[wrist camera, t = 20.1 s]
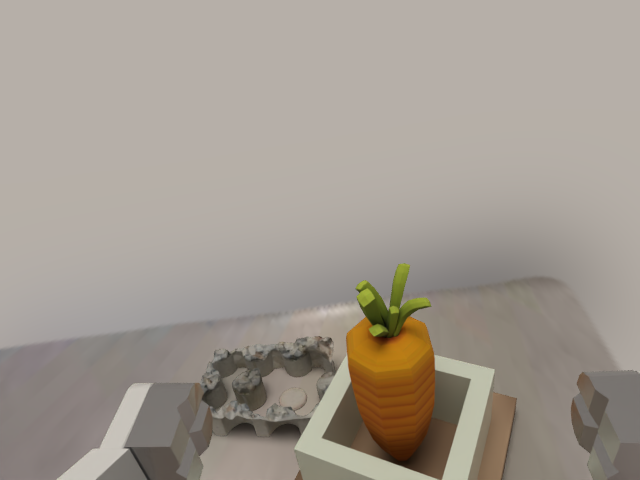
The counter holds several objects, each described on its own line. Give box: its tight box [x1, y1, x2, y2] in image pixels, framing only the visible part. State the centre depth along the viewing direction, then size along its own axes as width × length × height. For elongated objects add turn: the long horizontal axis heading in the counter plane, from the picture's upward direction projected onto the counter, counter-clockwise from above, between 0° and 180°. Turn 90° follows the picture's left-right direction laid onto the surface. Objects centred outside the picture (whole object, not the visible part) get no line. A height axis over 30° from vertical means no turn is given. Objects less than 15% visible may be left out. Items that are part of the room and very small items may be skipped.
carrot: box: [346, 263, 435, 461], centre depth 28 cm, size 5×5×15 cm
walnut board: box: [295, 392, 517, 480], centre depth 33 cm, size 12×14×2 cm
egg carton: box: [200, 336, 336, 437], centre depth 38 cm, size 11×8×4 cm
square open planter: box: [294, 355, 495, 480], centre depth 31 cm, size 9×9×5 cm
